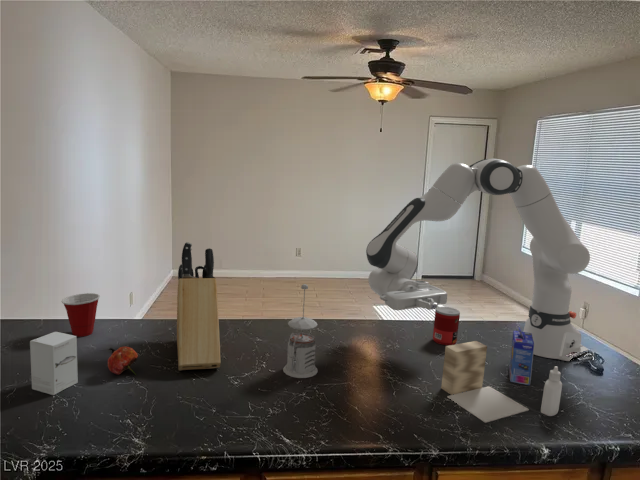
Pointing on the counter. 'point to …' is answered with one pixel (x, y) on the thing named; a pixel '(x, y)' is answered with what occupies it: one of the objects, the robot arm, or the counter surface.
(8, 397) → the counter surface
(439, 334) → the canned food
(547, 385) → the eye dropper bottle
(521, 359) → the ink cartridge box
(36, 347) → the supplement box
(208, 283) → the knife block
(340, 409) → the counter surface
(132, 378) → the counter surface
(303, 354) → the french press
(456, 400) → the mat
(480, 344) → the block
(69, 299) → the plastic cup
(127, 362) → the red rounded lump
